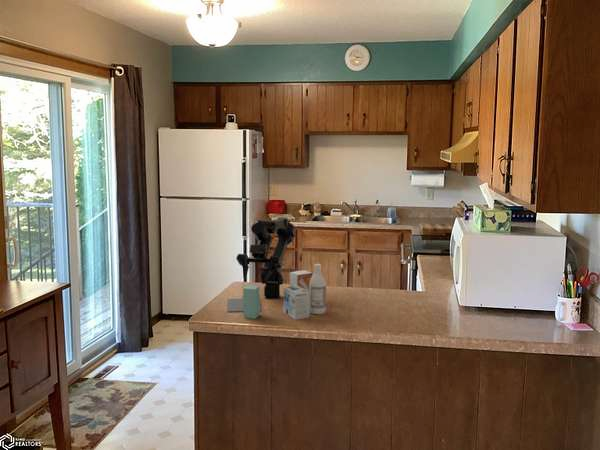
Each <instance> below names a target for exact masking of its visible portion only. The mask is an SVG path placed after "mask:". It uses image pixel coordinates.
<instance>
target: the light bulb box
mask: <svg viewBox="0 0 600 450" xmlns="http://www.w3.org/2000/svg"><path fill="white" fill-rule="evenodd" d="M309 299H310V291H307V290H305V289H303V288H301V287H299V286H291V287H290V286H286V287H283V314H286V315H287V316H288V317H290V318H291V319H292V320H295V321H296V320H303V319H307V318H310V312H309Z"/></svg>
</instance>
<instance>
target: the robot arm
mask: <svg viewBox="0 0 600 450" xmlns="http://www.w3.org/2000/svg"><path fill="white" fill-rule="evenodd" d="M251 232H252V234H253V236H254V237H255V239H256V240H257V242H256V244H250V247H249V253H250V255H251V256H252V257H249V256H248V254H247V253H238V254H237V255H236V259H235V260H236V261H237V263H238V264H239V265H240V266H241V267H242V275H243V276H242V277H243V279H246V277H247V275H248V271H249V267H250V266H249V265H250V263H254V264H255V263H256V264H257V263H258V264H264V265H263V267H262V270H261V272H260V279H261V284H262V285H263V284H264V286H263V290H264V291H263V296H264V297H265V298H264V299H280V298H281V295H280V292H281V291H280V290H281V289H280V287H281V286H282V285H283V284H284V276H283V275H282V271H281V268H283V260H284V259H283V258H284V256H285V253H286V250H287V248H288V245H289V244H291V243H292V242H293V241H294V239H295V237H296V234H297V231H296V228H295V226H294V224H293V223H291V222H290V220H289V218H287V217H277V218H276V219H272V220H263V219H262V220H261V219H260V220H257V222H255V223H254V224H252V226H251ZM275 234H276V236H277V243H276V245H275V248H274V251H273V253H272V255H271V256H269V255H270V254H271V252H270V248H271V244H272V243H273V237H272V236H271V235H275ZM268 257H269V258H268Z"/></svg>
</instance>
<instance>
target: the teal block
mask: <svg viewBox="0 0 600 450" xmlns="http://www.w3.org/2000/svg"><path fill="white" fill-rule="evenodd" d="M242 291H243V296H242V297H243V298H242V299H244V312H243V319H253V320H255V319H257V318H258V317H259V316H260V314H261V313H260V312H261V311H260V306H261V301H260V302H259V299H260V285H249V284H248V285H246V286H245V287H244V288H243V289H242Z"/></svg>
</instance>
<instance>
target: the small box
mask: <svg viewBox="0 0 600 450" xmlns="http://www.w3.org/2000/svg"><path fill="white" fill-rule="evenodd" d="M313 274H314V272H311V271H308V270H305V269H304V270H295V271H290V272H289V287H291V286H299V287H301V288H303V289H305V290H307V291H309V282H310V279H311V277H312V276H313Z"/></svg>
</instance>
